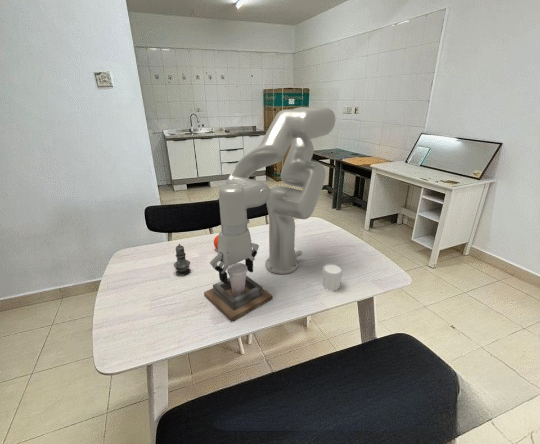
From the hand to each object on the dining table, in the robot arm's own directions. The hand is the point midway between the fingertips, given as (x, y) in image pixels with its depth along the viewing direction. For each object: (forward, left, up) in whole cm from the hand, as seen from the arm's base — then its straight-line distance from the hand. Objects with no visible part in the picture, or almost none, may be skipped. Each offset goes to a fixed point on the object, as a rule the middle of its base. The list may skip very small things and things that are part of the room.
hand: (237, 276), depth 91 cm
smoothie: (0, 0, -7) cm, 7 cm away
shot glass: (-28, +16, -8) cm, 33 cm away
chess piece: (+7, -26, -8) cm, 28 cm away
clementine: (-14, -31, -9) cm, 35 cm away
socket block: (0, 0, -8) cm, 8 cm away
